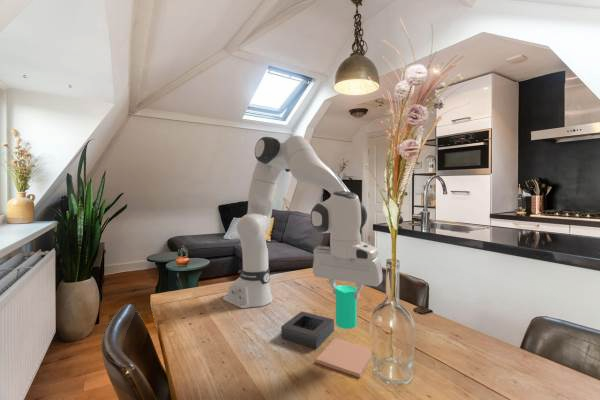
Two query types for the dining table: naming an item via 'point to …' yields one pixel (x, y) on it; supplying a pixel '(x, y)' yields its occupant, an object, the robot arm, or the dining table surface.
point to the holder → (304, 336)
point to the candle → (346, 307)
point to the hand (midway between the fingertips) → (346, 295)
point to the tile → (345, 357)
